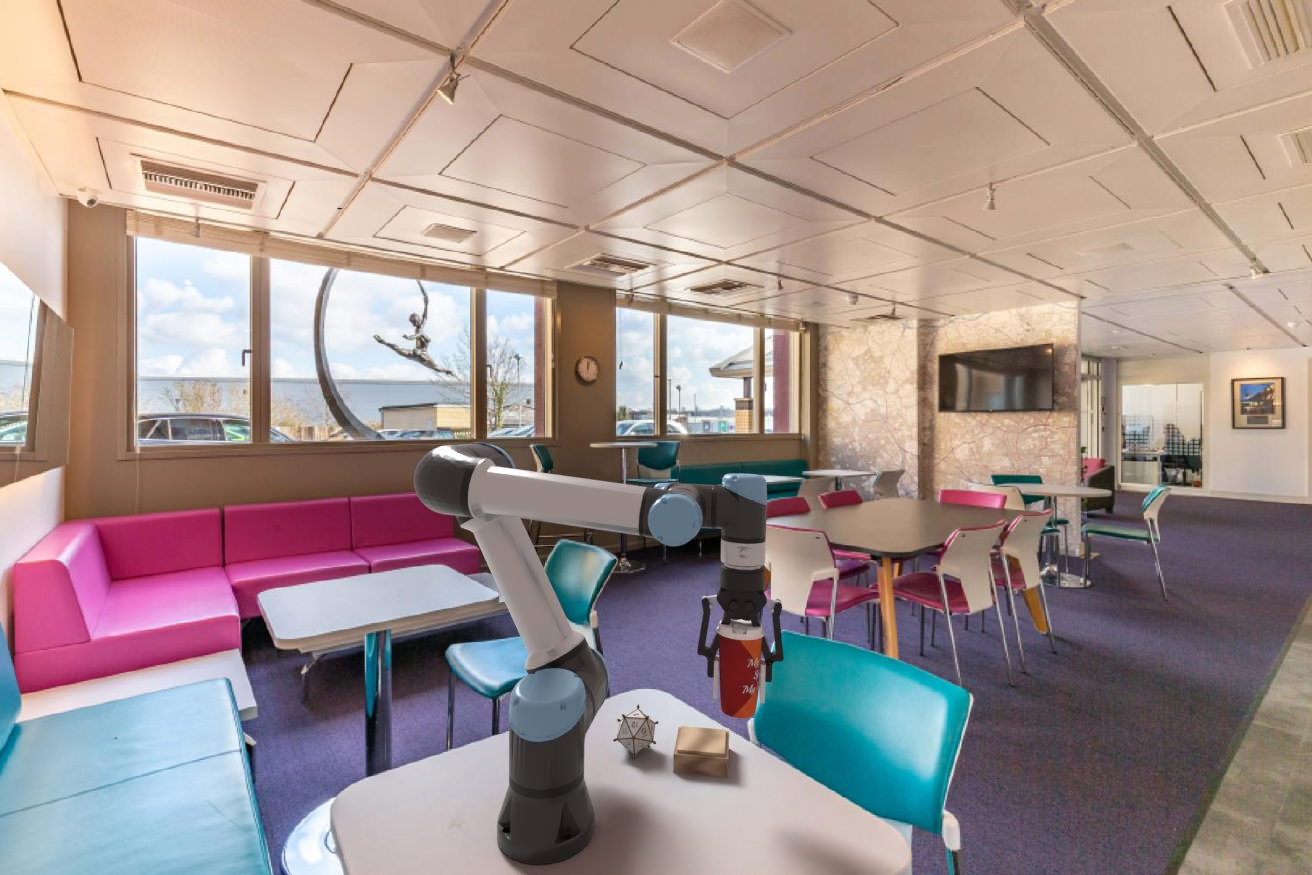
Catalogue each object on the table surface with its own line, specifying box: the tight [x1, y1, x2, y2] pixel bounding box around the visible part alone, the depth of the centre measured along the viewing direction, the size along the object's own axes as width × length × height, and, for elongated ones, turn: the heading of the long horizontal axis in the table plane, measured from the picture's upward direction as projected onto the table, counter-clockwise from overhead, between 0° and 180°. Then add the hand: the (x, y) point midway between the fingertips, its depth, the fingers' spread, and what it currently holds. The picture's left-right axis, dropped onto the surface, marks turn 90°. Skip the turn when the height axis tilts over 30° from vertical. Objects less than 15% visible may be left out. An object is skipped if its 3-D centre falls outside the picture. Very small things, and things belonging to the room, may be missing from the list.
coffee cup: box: [715, 619, 766, 719], centre depth 103 cm, size 8×8×15 cm
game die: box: [612, 704, 660, 760], centre depth 118 cm, size 9×8×10 cm
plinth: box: [672, 725, 730, 778], centre depth 116 cm, size 10×10×4 cm
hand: (738, 697), depth 104 cm, fingers closed on coffee cup, 7 cm apart
